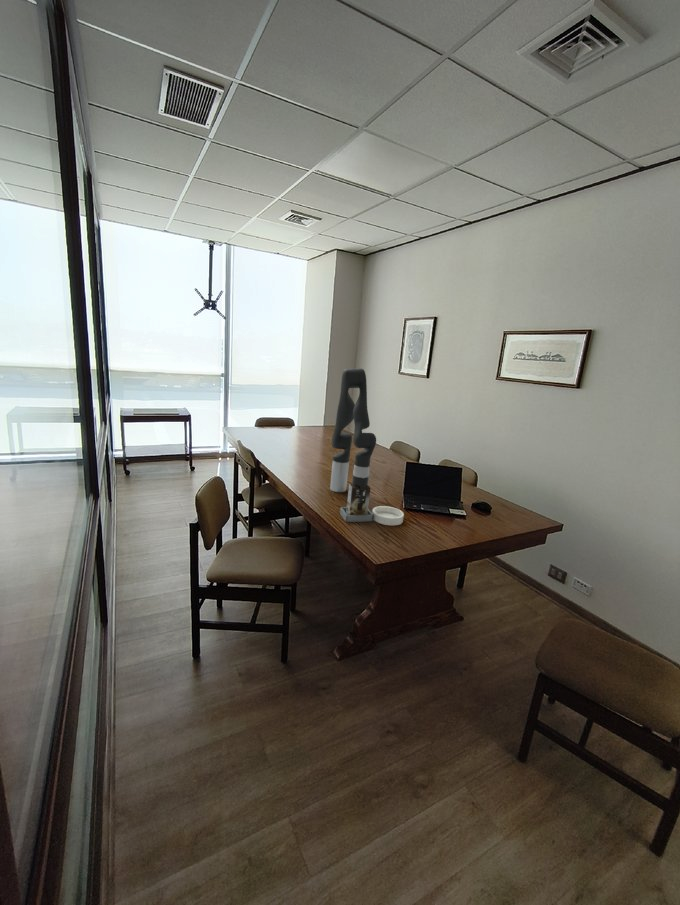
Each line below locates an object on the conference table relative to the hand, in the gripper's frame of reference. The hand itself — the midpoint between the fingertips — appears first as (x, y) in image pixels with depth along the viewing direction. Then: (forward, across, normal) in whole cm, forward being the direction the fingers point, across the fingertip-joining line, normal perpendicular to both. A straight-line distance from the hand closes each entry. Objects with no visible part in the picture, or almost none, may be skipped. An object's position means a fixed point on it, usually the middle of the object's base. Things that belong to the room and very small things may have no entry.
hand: (357, 507), depth 192 cm
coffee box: (+5, 0, 0) cm, 5 cm away
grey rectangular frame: (+5, 0, 0) cm, 5 cm away
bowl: (+5, +3, +15) cm, 16 cm away
